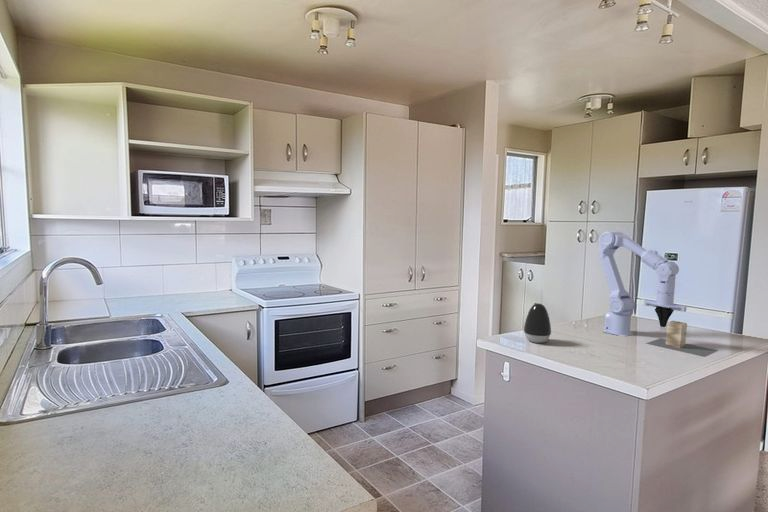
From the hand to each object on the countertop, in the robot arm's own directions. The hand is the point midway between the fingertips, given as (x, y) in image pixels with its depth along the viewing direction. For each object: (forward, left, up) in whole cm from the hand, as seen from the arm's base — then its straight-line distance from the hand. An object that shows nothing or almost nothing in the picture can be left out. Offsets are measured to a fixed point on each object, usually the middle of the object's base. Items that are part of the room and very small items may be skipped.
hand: (663, 326), depth 178 cm
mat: (+7, 0, -7) cm, 10 cm away
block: (+5, 0, -6) cm, 8 cm away
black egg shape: (-30, -40, -7) cm, 50 cm away
